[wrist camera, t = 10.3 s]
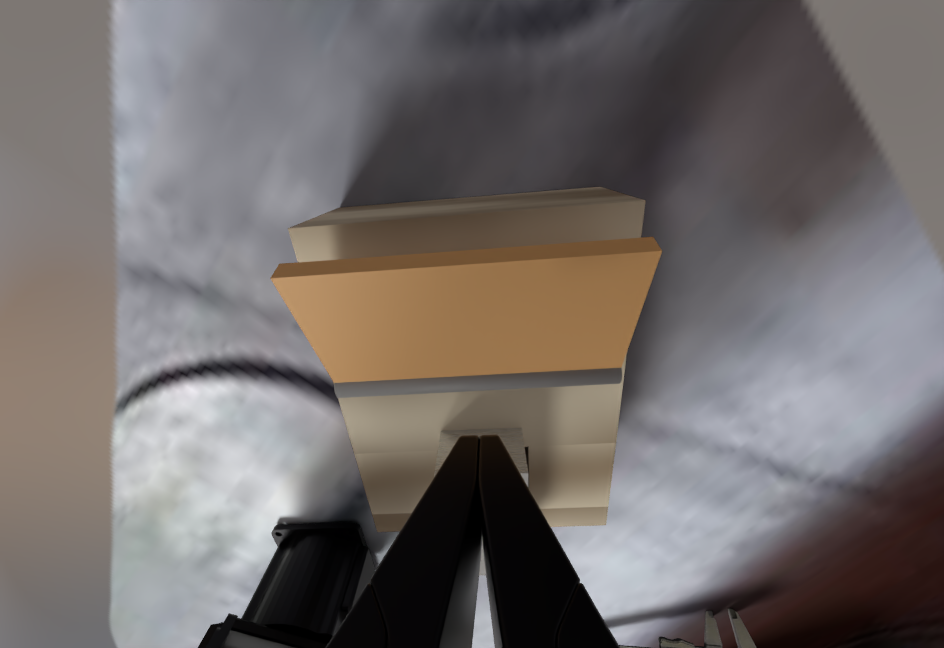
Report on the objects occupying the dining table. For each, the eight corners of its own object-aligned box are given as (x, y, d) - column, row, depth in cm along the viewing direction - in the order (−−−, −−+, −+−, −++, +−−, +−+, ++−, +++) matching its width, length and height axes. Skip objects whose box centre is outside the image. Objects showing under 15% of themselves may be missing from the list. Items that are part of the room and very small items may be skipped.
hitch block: (581, 452, 23) (605, 525, 19) (396, 459, 24) (377, 532, 19) (600, 186, 16) (645, 200, 12) (339, 207, 17) (288, 228, 12)
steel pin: (458, 458, 23) (449, 575, 17) (448, 374, 20) (434, 476, 14) (515, 457, 23) (528, 574, 16) (513, 371, 20) (528, 473, 14)
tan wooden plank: (611, 368, 15) (618, 388, 14) (346, 382, 15) (340, 402, 15) (653, 236, 10) (666, 257, 10) (279, 263, 11) (266, 285, 10)
